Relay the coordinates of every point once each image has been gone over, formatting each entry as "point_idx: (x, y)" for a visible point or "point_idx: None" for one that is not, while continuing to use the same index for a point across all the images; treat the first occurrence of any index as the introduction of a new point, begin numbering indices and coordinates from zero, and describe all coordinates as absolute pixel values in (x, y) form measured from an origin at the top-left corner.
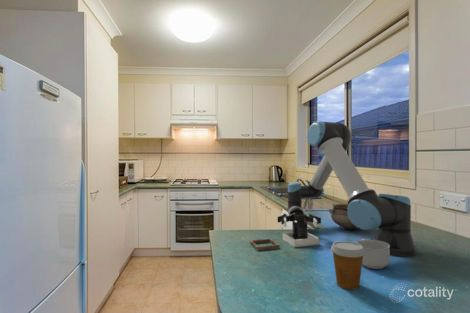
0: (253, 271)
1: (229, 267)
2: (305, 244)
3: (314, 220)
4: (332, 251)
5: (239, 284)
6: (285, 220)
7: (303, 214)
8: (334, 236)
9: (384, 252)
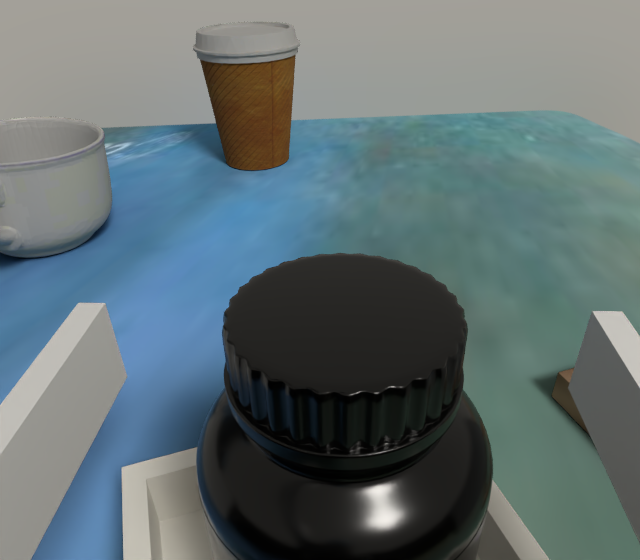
0: (579, 187)
1: None
2: None
3: (55, 393)
4: (297, 50)
5: (581, 147)
6: (608, 313)
7: (244, 338)
8: None
9: (31, 133)
